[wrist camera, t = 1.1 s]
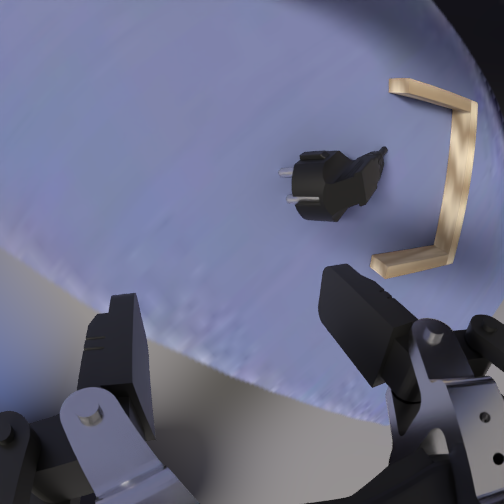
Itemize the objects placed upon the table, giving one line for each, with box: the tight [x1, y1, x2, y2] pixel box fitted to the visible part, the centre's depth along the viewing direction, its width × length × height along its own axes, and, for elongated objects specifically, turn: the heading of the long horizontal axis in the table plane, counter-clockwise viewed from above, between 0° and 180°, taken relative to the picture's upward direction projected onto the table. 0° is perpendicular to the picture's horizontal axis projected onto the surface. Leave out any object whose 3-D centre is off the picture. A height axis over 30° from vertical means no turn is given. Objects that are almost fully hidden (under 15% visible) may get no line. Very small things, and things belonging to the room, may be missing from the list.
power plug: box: [278, 147, 387, 222], centre depth 27 cm, size 6×8×12 cm
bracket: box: [370, 78, 478, 279], centre depth 30 cm, size 21×12×3 cm, turn 179°
